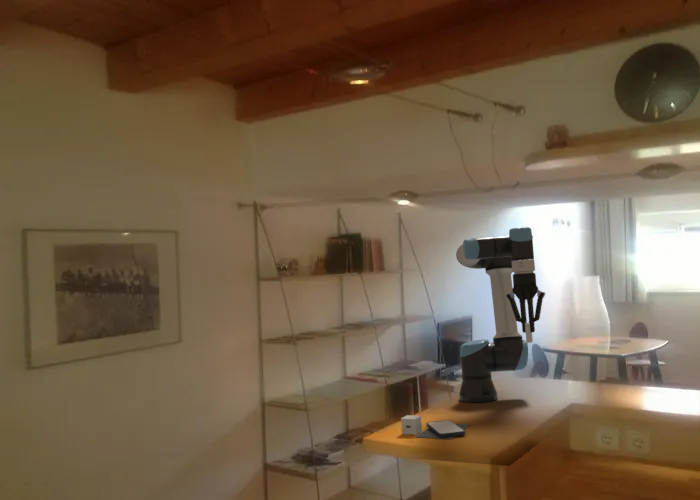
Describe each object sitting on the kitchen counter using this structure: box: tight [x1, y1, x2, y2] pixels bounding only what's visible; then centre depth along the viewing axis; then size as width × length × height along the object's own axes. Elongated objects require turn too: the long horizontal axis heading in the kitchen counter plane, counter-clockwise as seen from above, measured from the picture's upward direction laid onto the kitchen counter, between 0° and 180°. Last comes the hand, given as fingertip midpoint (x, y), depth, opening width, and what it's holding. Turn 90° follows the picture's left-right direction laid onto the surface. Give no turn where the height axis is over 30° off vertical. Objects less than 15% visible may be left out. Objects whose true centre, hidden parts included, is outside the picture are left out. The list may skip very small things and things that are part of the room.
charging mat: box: [415, 423, 471, 440], centre depth 209 cm, size 19×12×1 cm, turn 152°
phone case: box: [426, 419, 466, 438], centre depth 207 cm, size 9×2×16 cm
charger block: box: [400, 414, 423, 436], centre depth 210 cm, size 5×5×5 cm
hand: (529, 342), depth 215 cm, fingers closed
